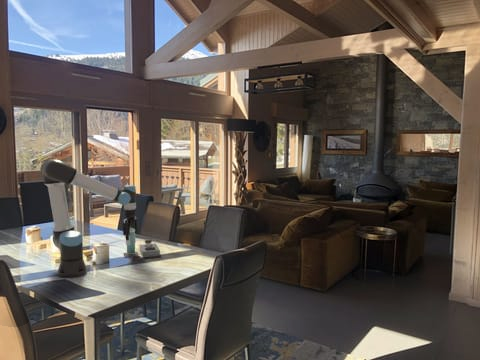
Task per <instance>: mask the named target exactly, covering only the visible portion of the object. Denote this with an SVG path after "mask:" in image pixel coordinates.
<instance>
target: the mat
mask: <svg viewBox="0 0 480 360" xmlns="http://www.w3.org/2000/svg"><path fill="white" fill-rule="evenodd" d="M122 255H123V257H124V259H125V258H136V257H139V256H140V255H139V253H138V251H135V253H127V252H124V253H123V254H122Z"/></svg>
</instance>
